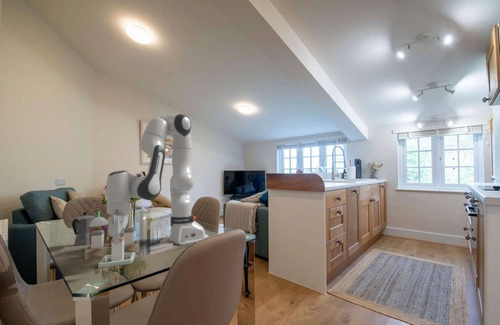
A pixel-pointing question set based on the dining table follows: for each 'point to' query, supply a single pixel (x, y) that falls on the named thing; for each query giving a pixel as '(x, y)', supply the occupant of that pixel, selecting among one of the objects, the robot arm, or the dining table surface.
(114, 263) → the tray
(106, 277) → the dining table surface
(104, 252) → the socket strip
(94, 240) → the block
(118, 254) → the block
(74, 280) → the dining table surface
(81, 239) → the coffeepot
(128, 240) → the block
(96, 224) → the smoothie
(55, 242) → the dining table surface
